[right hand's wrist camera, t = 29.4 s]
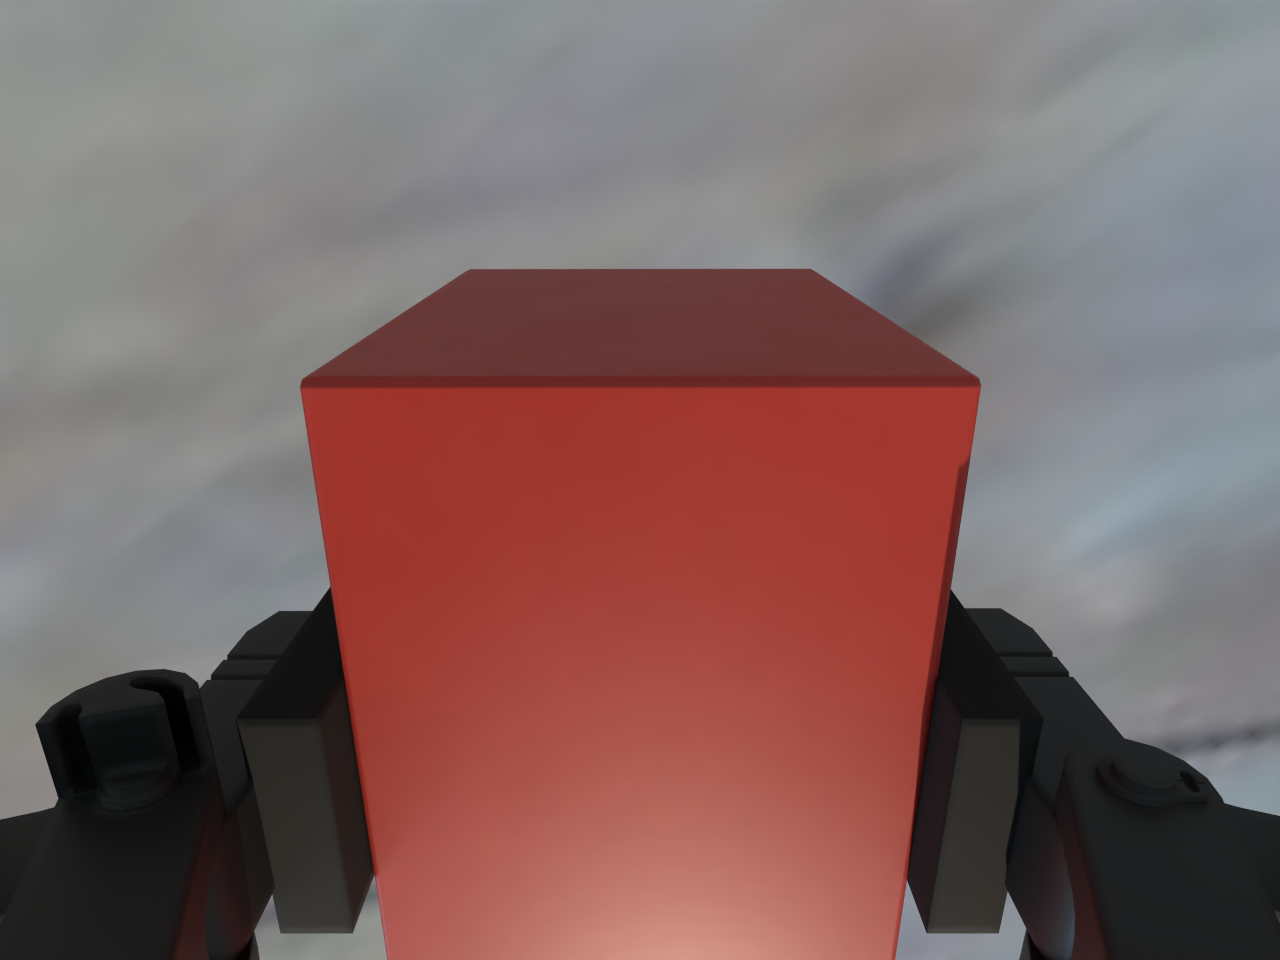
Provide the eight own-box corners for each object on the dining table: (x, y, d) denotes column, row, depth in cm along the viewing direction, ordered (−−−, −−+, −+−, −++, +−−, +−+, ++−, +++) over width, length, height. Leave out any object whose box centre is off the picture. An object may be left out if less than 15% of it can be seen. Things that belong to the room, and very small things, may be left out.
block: (783, 704, 18) (880, 1077, 10) (498, 704, 18) (402, 1077, 11) (814, 268, 14) (986, 377, 7) (466, 268, 14) (294, 378, 7)
